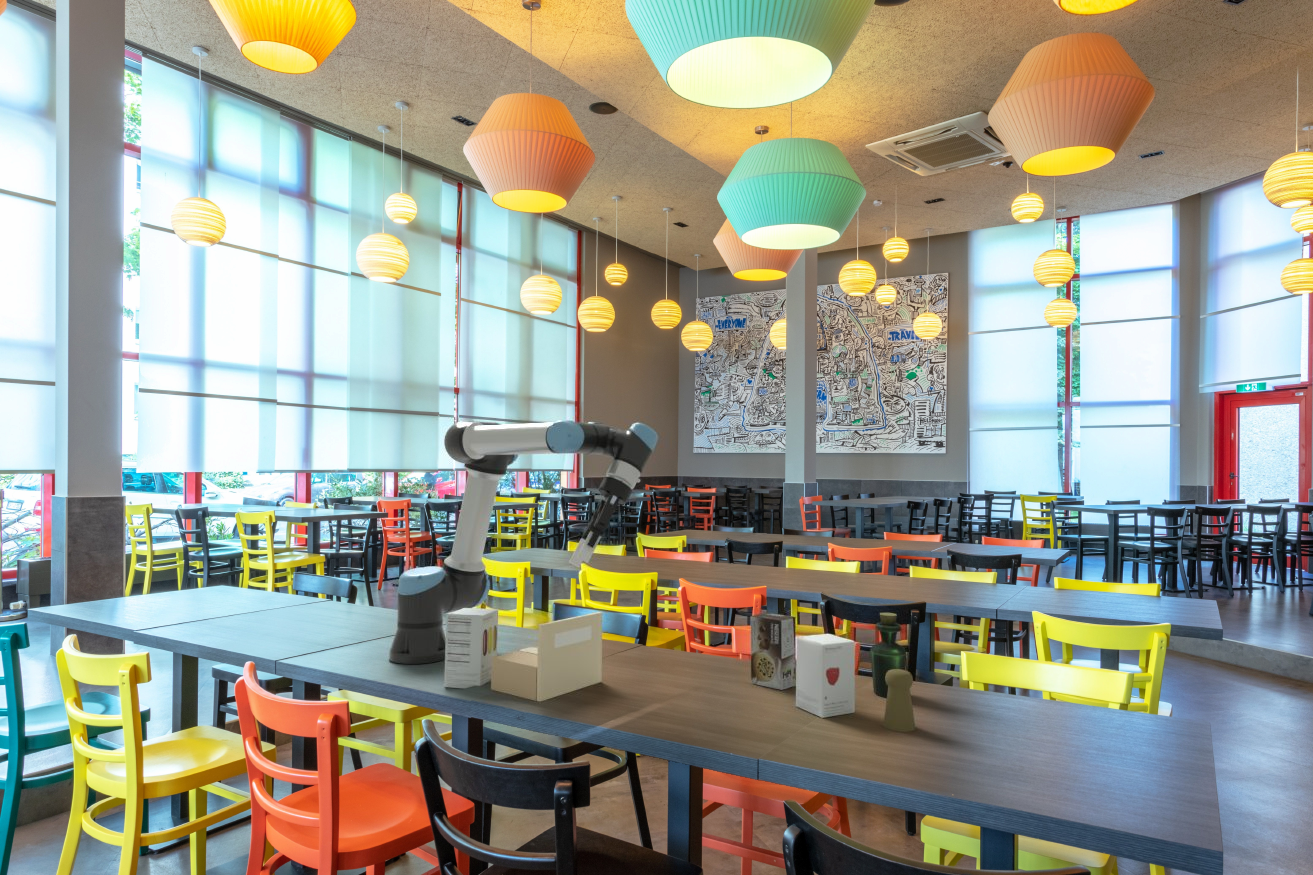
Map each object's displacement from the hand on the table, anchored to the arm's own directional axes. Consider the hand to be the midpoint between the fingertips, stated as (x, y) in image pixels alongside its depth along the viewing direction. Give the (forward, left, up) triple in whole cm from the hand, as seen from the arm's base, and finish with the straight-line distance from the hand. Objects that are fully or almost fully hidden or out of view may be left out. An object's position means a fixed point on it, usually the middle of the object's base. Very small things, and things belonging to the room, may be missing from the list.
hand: (577, 562), depth 175 cm
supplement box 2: (+37, +42, -29) cm, 63 cm away
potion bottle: (+34, +63, -29) cm, 77 cm away
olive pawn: (+52, +48, -29) cm, 76 cm away
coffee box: (+16, +44, -29) cm, 55 cm away
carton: (-3, -6, -29) cm, 30 cm away
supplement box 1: (-15, -20, -29) cm, 39 cm away
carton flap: (+4, -3, -28) cm, 28 cm away
